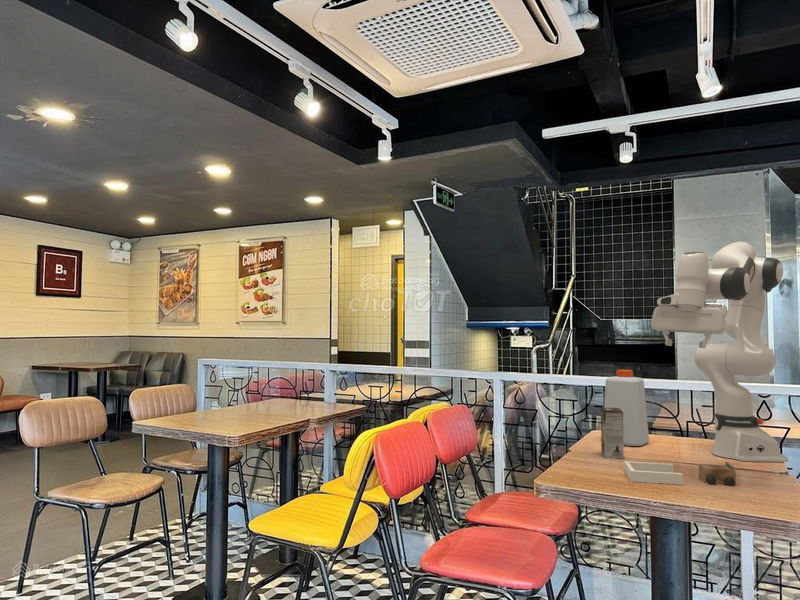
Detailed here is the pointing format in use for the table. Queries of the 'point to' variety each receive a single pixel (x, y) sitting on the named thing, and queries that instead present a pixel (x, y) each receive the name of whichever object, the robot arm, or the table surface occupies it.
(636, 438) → the plastic bottle
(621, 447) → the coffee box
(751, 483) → the table surface
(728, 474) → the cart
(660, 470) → the bay
